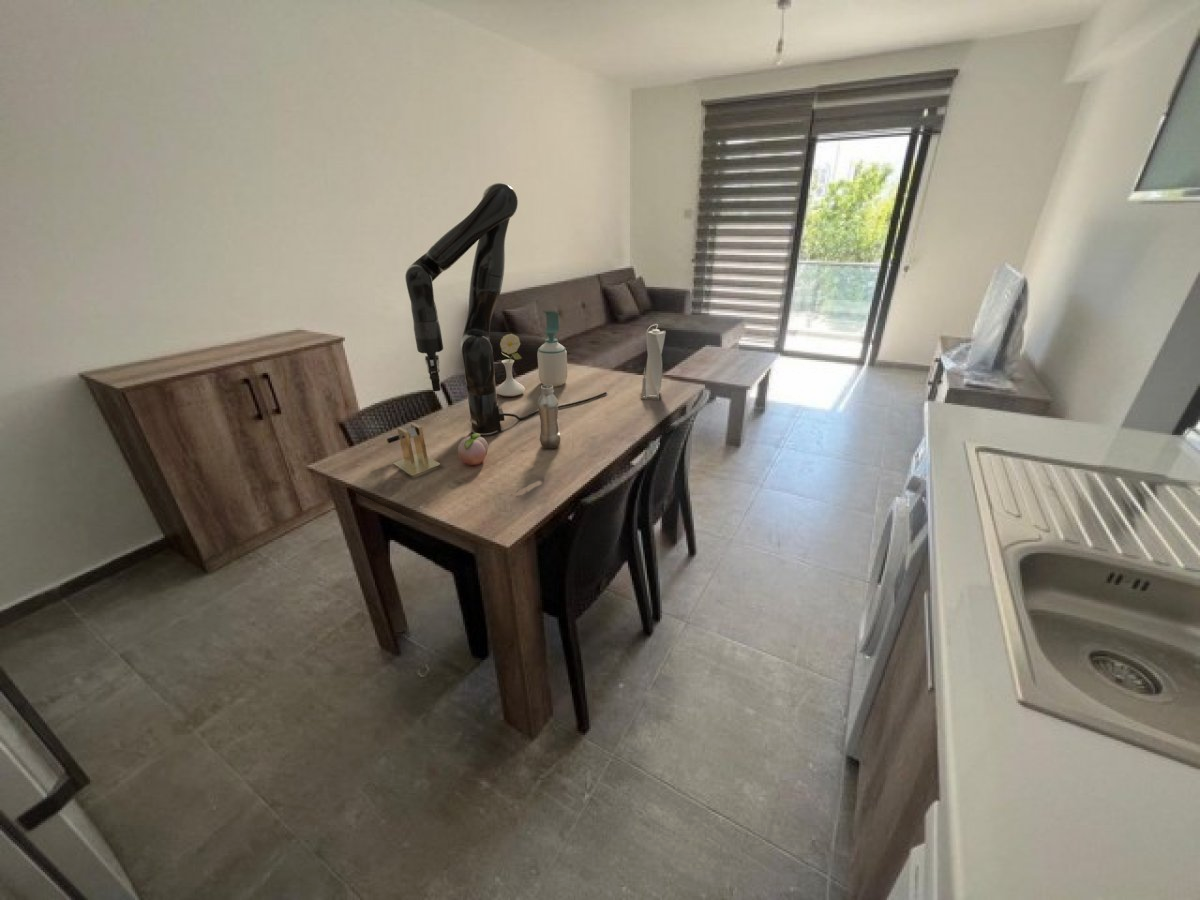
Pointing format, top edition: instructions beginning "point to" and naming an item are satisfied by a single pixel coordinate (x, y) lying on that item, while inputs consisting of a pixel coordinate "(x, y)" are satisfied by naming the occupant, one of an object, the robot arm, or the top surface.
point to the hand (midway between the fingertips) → (436, 386)
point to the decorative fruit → (473, 449)
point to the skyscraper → (653, 364)
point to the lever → (411, 434)
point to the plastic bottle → (548, 418)
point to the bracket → (410, 462)
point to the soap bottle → (552, 355)
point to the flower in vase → (510, 366)
